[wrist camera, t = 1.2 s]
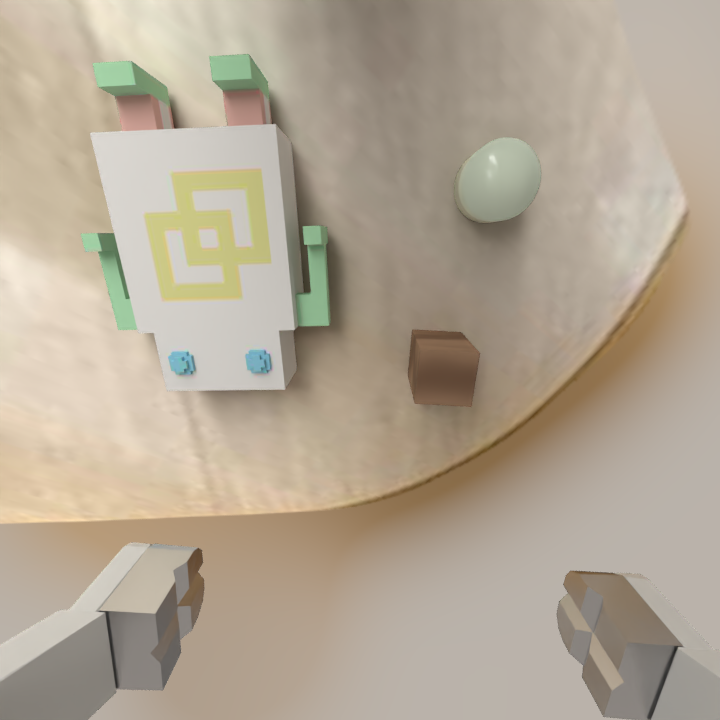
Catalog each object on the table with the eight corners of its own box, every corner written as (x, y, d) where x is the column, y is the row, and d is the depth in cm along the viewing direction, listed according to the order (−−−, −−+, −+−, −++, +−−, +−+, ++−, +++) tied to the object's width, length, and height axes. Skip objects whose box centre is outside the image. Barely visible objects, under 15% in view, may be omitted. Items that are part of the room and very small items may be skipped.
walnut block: (412, 329, 36) (420, 350, 30) (460, 332, 36) (480, 353, 30) (407, 374, 38) (414, 403, 32) (454, 377, 38) (471, 406, 31)
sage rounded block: (458, 147, 31) (469, 135, 27) (527, 150, 31) (548, 139, 27) (449, 221, 33) (459, 219, 29) (514, 224, 33) (532, 222, 29)
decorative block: (329, 392, 32) (118, 394, 33) (336, 367, 38) (157, 370, 39) (307, 45, 24) (26, 61, 25) (321, 84, 30) (94, 95, 31)
